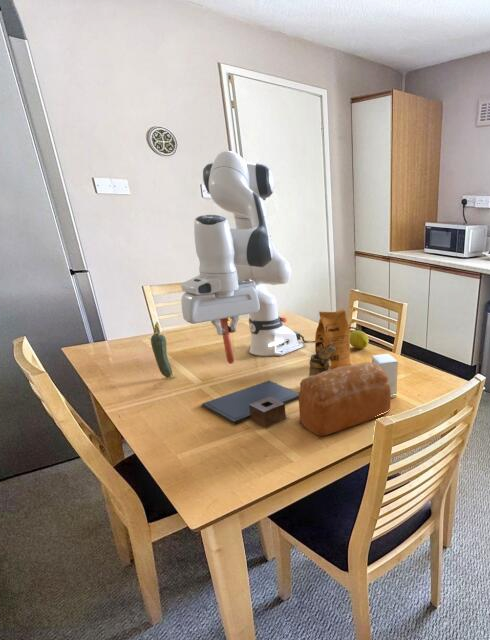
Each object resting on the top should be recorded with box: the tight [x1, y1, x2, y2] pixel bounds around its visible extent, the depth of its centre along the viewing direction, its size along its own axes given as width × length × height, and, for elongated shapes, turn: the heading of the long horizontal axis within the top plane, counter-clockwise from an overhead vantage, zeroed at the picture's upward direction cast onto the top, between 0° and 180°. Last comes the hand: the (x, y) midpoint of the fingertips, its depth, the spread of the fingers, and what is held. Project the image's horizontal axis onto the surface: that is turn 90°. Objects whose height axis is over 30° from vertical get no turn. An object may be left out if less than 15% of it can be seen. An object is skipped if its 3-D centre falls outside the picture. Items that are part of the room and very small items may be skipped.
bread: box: [298, 361, 391, 437], centre depth 120 cm, size 14×26×16 cm, turn 133°
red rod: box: [219, 318, 235, 365], centre depth 113 cm, size 2×2×14 cm
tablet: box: [201, 380, 299, 425], centre depth 129 cm, size 24×17×1 cm
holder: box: [249, 397, 287, 429], centre depth 118 cm, size 7×7×5 cm
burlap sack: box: [308, 345, 336, 377], centre depth 137 cm, size 9×14×18 cm, turn 35°
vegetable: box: [150, 321, 174, 379], centre depth 137 cm, size 4×4×20 cm
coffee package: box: [314, 308, 351, 370], centre depth 157 cm, size 10×12×22 cm
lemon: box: [349, 330, 370, 350], centre depth 180 cm, size 11×8×8 cm
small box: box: [371, 353, 399, 399], centre depth 137 cm, size 8×6×13 cm
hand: (226, 333), depth 112 cm, fingers closed on red rod, 2 cm apart
